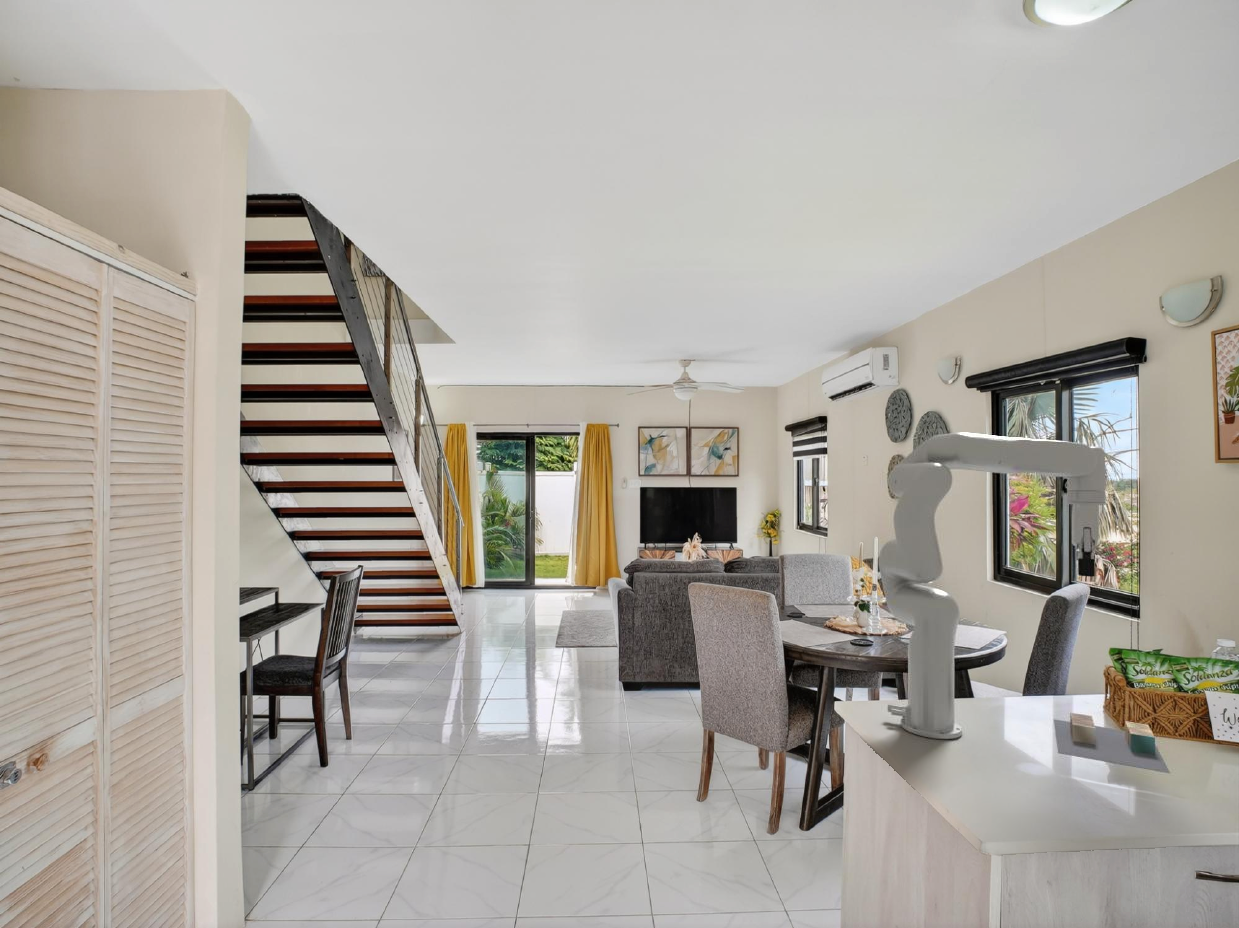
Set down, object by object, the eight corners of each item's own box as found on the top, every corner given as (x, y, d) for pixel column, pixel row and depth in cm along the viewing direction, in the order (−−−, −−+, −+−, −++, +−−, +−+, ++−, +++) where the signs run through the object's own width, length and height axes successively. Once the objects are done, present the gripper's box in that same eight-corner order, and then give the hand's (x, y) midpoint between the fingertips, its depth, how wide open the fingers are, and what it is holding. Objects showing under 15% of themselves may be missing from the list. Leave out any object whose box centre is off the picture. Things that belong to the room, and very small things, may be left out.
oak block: (1130, 733, 141) (1125, 721, 149) (1130, 750, 141) (1125, 737, 148) (1154, 737, 139) (1148, 724, 146) (1155, 754, 139) (1148, 741, 146)
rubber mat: (1058, 754, 139) (1058, 752, 139) (1053, 720, 160) (1053, 719, 160) (1170, 775, 130) (1170, 772, 130) (1150, 736, 150) (1150, 734, 150)
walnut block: (1072, 724, 146) (1070, 712, 154) (1072, 740, 146) (1070, 728, 154) (1095, 727, 144) (1091, 715, 152) (1095, 744, 144) (1091, 731, 151)
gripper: (1066, 498, 170) (1066, 571, 170) (1068, 498, 158) (1068, 577, 157) (1103, 498, 166) (1103, 574, 166) (1107, 499, 154) (1108, 580, 153)
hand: (1086, 575), depth 161 cm, fingers closed
